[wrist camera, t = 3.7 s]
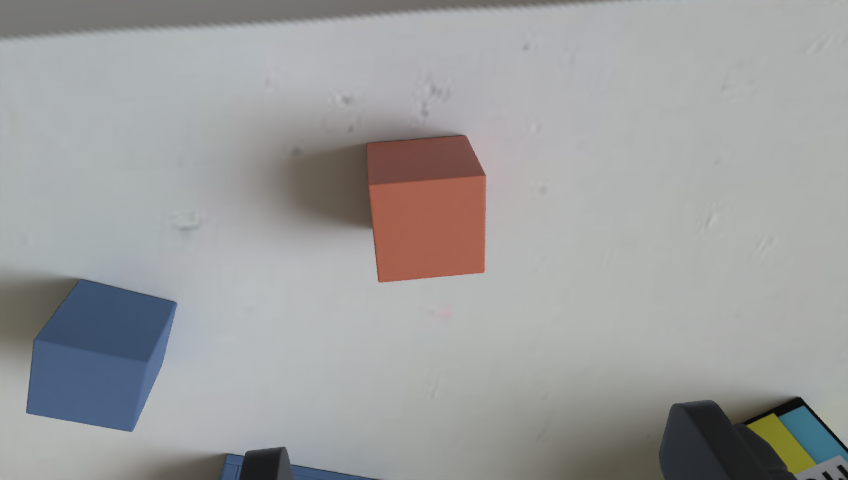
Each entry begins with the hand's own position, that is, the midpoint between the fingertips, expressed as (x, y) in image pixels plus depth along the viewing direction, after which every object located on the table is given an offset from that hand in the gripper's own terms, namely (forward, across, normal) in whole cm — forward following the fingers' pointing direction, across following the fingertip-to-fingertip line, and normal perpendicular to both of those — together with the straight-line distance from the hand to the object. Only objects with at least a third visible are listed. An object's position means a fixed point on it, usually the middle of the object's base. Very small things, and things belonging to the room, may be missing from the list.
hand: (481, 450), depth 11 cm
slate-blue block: (+13, +14, +6) cm, 20 cm away
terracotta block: (+13, 0, 0) cm, 13 cm away
